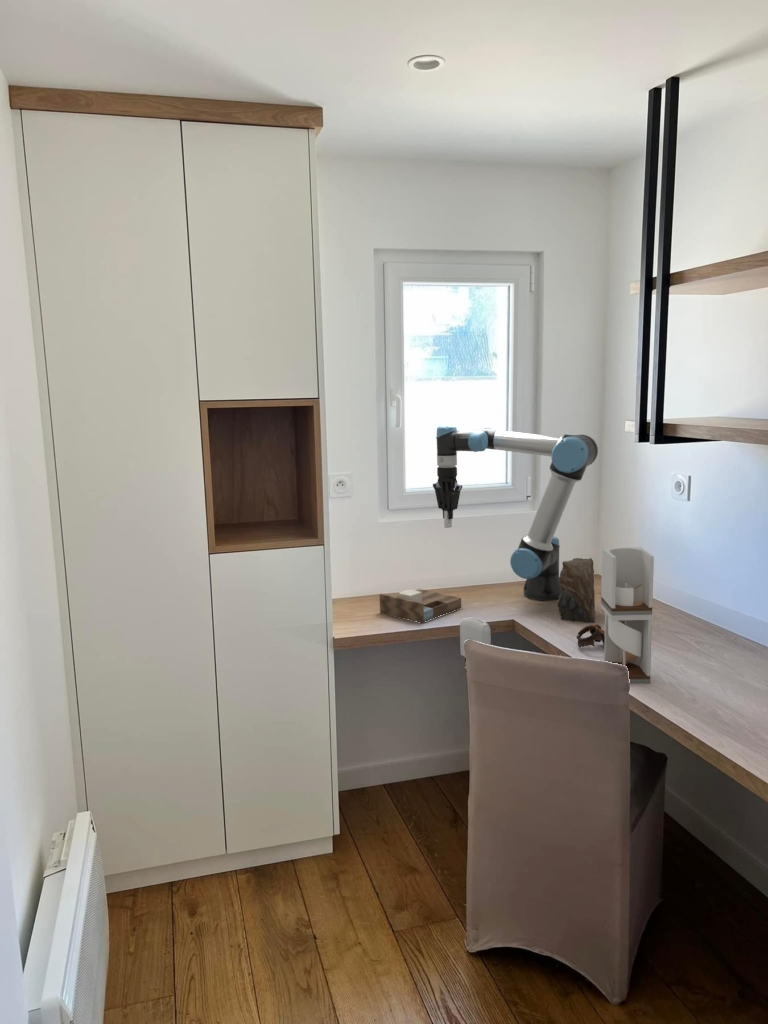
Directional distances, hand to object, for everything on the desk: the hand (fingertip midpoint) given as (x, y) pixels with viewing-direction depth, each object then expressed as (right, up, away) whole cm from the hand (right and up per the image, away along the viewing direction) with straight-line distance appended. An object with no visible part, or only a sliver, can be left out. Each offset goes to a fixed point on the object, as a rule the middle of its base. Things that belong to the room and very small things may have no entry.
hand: (448, 527), depth 292 cm
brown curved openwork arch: (+40, -36, -59) cm, 80 cm away
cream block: (-15, -27, -21) cm, 37 cm away
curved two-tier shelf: (+42, -40, -82) cm, 100 cm away
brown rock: (+43, -31, -31) cm, 61 cm away
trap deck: (-11, -30, -17) cm, 36 cm away
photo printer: (+3, -38, -65) cm, 76 cm away
